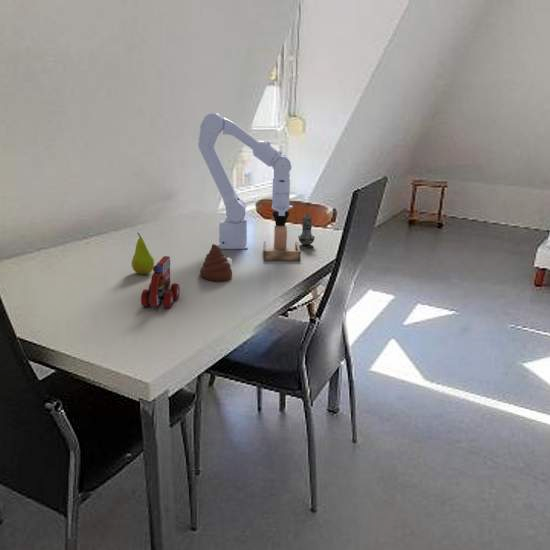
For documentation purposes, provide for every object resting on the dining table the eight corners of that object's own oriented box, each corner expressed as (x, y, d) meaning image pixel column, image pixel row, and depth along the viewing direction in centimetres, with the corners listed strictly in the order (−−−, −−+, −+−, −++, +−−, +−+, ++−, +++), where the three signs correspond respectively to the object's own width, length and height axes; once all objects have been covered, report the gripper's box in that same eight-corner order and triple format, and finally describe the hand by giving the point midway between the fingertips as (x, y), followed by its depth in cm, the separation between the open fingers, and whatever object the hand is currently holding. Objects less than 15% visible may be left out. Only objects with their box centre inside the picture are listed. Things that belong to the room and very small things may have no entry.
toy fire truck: (138, 312, 112) (135, 269, 109) (155, 293, 124) (152, 253, 121) (167, 313, 112) (165, 270, 108) (182, 294, 123) (180, 255, 120)
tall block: (274, 249, 164) (274, 230, 161) (274, 244, 168) (274, 225, 165) (286, 249, 165) (287, 230, 161) (285, 244, 168) (286, 226, 165)
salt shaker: (308, 250, 165) (309, 215, 161) (294, 247, 168) (295, 212, 164) (317, 246, 169) (319, 212, 165) (303, 243, 173) (305, 210, 169)
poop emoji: (193, 275, 138) (192, 243, 135) (218, 269, 143) (217, 238, 140) (214, 284, 131) (213, 251, 128) (239, 278, 136) (239, 246, 133)
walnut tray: (263, 260, 152) (264, 251, 151) (263, 250, 164) (263, 241, 163) (300, 260, 153) (300, 251, 152) (297, 250, 164) (297, 241, 163)
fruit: (159, 272, 139) (157, 231, 136) (144, 278, 134) (141, 236, 130) (143, 268, 142) (140, 228, 139) (127, 274, 137) (124, 232, 133)
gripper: (294, 196, 156) (293, 237, 160) (291, 189, 170) (290, 227, 174) (272, 196, 156) (271, 237, 160) (271, 189, 169) (270, 227, 174)
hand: (280, 232), depth 167 cm, fingers closed
